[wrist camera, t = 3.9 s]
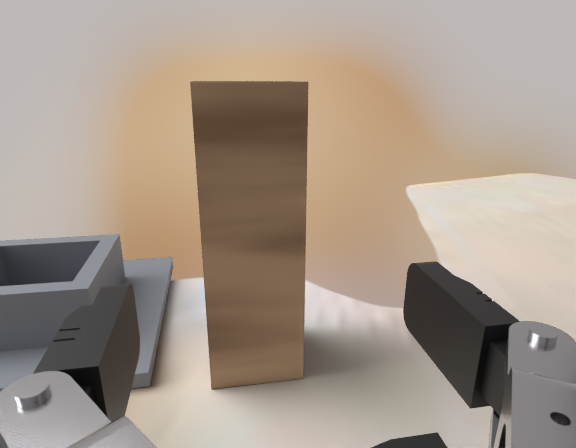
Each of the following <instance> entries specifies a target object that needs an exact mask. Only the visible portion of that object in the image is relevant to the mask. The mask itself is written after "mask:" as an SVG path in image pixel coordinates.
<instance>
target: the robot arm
mask: <svg viewBox="0 0 576 448" xmlns="http://www.w3.org/2000/svg"><path fill="white" fill-rule="evenodd" d="M403 312H404V320H405V324H406V326H407V328H408V330H409V332H410V333H411V334H412V335H413V337H414V338H415V339H416V340H417V342H418V343H419V344H420V345H421V347H422V348H423V349H424V350H425V352H426V353H427V354H428V356H429V357H430V358H431V359H432V361H433V362H434V363H435V364H436V366H437V367H438V368H439V369H440V371H441V372H442V373H443V374H444V376H445V377H446V378H447V380H448V381H449V382H450V383H451V385H452V386H453V387H454V388H455V390H456V391H457V392H458V393H459V395H460V396H461V397H462V398H463V400H464V401H465V402H466V404H467V405H468V406H469V407H470V408H477V407H484V406H491V407H492V408H493V411H492V416H491V421H490V434H489V447H488V448H576V342H575V340H574V339H573V338H572V337H571V336H569V335H568V334H567V333H565V332H563V331H562V330H560V329H558V328H555V327H553V326H550V325H547V324H543V323H539V322H532V321H521V322H520V321H519V320H517V319H516V318H515V317H514V316H512V315H511V314H510V313H508V312H507V311H506V310H505V309H503V308H502V307H501V306H499V305H498V304H497V303H496V302H494V301H493V302H492V299H491V298H489V297H488V296H487V295H485V294H483V293H482V291H480V290H479V289H478V288H477V287H475V286H474V285H473V284H471V283H470V282H467V281H465V280H463V279H461V278H458V277H456V276H454V275H453V274H452V273H450V272H449V271H448V270H447V269H445V268H444V267H443V266H442V265H440V264H439V263H438V262H424V263H412V264H411V265H410V266H409V268H408V272H407V281H406V291H405V300H404V311H403ZM139 354H140V333H139V326H138V318H137V310H136V303H135V295H134V289H133V286H132V284H125V285H112V286H102V287H101V289H100V291H99V293H98V295H97V297H96V299H95V300H94V302H93V304H92V305H87V306H80V307H79V308H78V309H76V310H75V311H74V312H72V313H71V314H70V315H69V316H67V317H66V318H65V320H64V322H63V324H62V325H61V327H60V329H59V332H57V334H56V335H55V337H54V339H53V343H51V344H50V346H49V347H48V349H47V351H46V352H45V354H44V356H43V357H42V359H41V361H40V362H39V364H38V366H37V367H36V369H35V371H34V373H33V374H32V375H29V376H26V377H23V378H21V379H19V380H17V381H15V382H13V383H12V384H10V385H8V386H7V387H5V388H4V389H3V390H2V391H1V392H0V448H157V447H156V446H155V445H154V444H153V443H152V442H151V441H150V440H149V439H148V438H147V437H146V436H145V435H144V434H143V433H142V432H141V431H140V430H139V429H138V427H137V426H136V425H135V424H134V423H133V422H132V421H131V420H130V419H128V418H127V417H125V412H126V408H127V404H128V400H129V396H130V392H131V388H132V384H133V380H134V376H135V372H136V367H137V363H138V359H139ZM372 448H447V446H446V445H445V443H444V442H443V440H442V439H441V437H440V436H439V434H438V433H431V434H424V435H418V436H411V437H404V438H397V439H391V440H388V441H386V442H384V443H381V444H379V445H377V446H374V447H372Z"/></svg>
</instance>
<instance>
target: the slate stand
mask: <svg viewBox="0 0 576 448" xmlns="http://www.w3.org/2000/svg"><path fill="white" fill-rule="evenodd" d="M172 269H173V261H172V257H168V258H151V259H136V260H123V258H122V250H121V243H120V236H119V234H116V235H98V236H79V237H61V238H43V239H25V240H7V241H0V392H1V391H2V390H3V389H4V388H5V387H7V386H8V385H10V384H12V383H13V382H15V381H17V380H19V379H21V378H23V377H26V376H29V375H32V374H33V373H34V371H35V369H36V367H37V366H38V364H39V362H40V361H41V359H42V357H43V356H44V354H45V352H46V351H47V349H48V347H49V346H50V344H51V343H53V339H54V337H55V335H56V334H57V332H59V329H60V327H61V325H62V324H63V322H64V320H65V318H66V317H67V316H69V315H70V314H71V313H72V312H74V311H75V310H76V309H78V308H79V307H80V306H87V305H92V304H93V302H94V300H95V299H96V297H97V295H98V293H99V291H100V289H101V287H102V286H112V285H125V284H132V286H133V289H134V295H135V303H136V310H137V318H138V326H139V333H140V354H139V359H138V363H137V367H136V372H135V376H134V380H133V384H132V388H140V387H149V386H150V383H151V378H152V373H153V368H154V363H155V357H156V352H157V347H158V342H159V337H160V332H161V326H162V321H163V316H164V311H165V306H166V300H167V295H168V290H169V285H170V280H171V274H172Z"/></svg>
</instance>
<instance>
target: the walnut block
mask: <svg viewBox="0 0 576 448" xmlns="http://www.w3.org/2000/svg"><path fill="white" fill-rule="evenodd" d="M190 84H191V98H192V113H193V128H194V142H195V156H196V169H197V185H198V200H199V214H200V228H201V243H202V257H203V272H204V286H205V301H206V315H207V330H208V344H209V358H210V373H211V387H212V389H218V388H226V387H235V386H243V385H252V384H260V383H269V382H277V381H286V380H294V379H303V365H304V305H305V246H306V185H307V183H306V182H307V127H308V82H293V81H192V82H190Z"/></svg>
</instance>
